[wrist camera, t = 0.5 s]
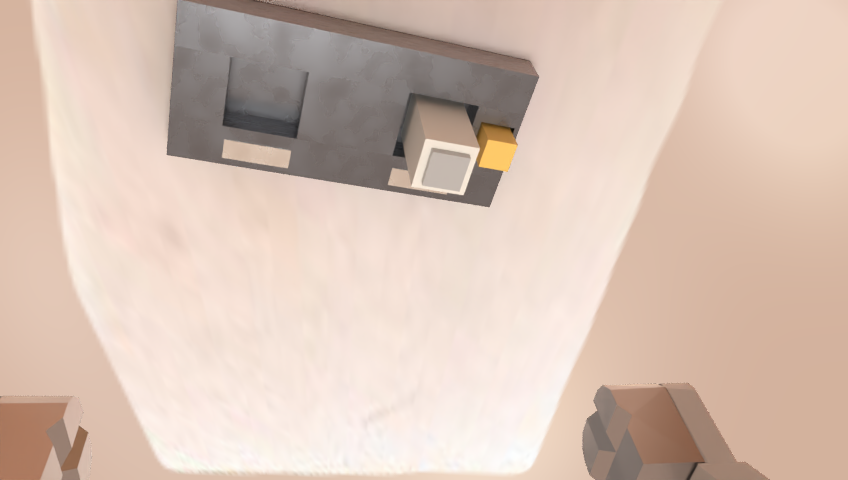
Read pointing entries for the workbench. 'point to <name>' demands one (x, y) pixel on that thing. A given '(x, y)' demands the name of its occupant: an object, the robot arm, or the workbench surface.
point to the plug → (438, 144)
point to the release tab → (495, 146)
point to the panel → (326, 94)
